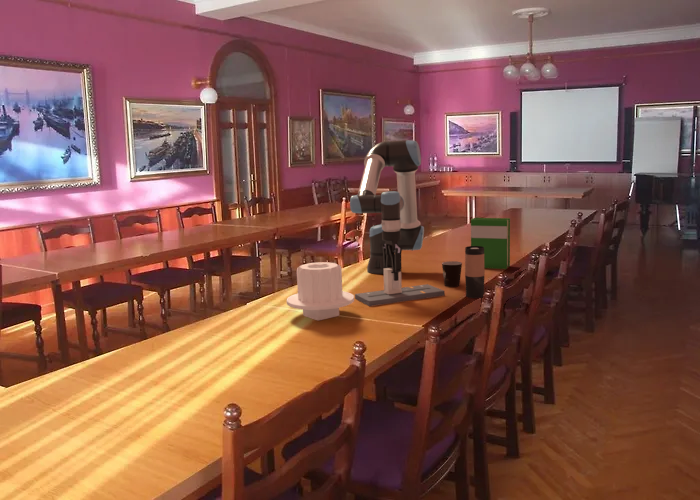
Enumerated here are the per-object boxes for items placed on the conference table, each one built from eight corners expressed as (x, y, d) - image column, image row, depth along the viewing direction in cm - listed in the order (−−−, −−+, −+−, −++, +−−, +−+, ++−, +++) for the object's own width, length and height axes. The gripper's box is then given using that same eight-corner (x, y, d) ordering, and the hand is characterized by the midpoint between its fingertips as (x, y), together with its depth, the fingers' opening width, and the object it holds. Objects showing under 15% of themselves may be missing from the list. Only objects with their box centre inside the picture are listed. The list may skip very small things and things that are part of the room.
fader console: (355, 298, 255) (354, 293, 254) (427, 288, 267) (427, 283, 267) (369, 306, 242) (368, 300, 241) (444, 295, 255) (444, 290, 254)
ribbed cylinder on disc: (275, 315, 234) (272, 266, 231) (329, 303, 248) (326, 257, 245) (312, 329, 214) (309, 275, 211) (368, 315, 229) (366, 265, 226)
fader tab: (384, 292, 254) (383, 268, 252) (397, 290, 256) (396, 266, 254) (388, 294, 250) (387, 269, 248) (401, 292, 252) (401, 268, 251)
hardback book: (509, 266, 308) (510, 218, 304) (506, 269, 302) (507, 220, 298) (474, 264, 316) (474, 217, 312) (471, 267, 309) (470, 219, 305)
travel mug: (485, 294, 254) (485, 246, 251) (483, 298, 247) (483, 249, 244) (466, 293, 257) (466, 245, 253) (463, 297, 250) (463, 248, 246)
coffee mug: (461, 287, 267) (461, 265, 265) (441, 287, 268) (441, 265, 267) (462, 281, 278) (462, 260, 276) (443, 281, 280) (442, 260, 278)
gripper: (374, 228, 255) (375, 284, 259) (392, 233, 240) (393, 292, 243) (390, 227, 258) (391, 282, 262) (409, 231, 242) (410, 290, 246)
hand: (392, 286), depth 253 cm, fingers closed on fader tab, 4 cm apart
